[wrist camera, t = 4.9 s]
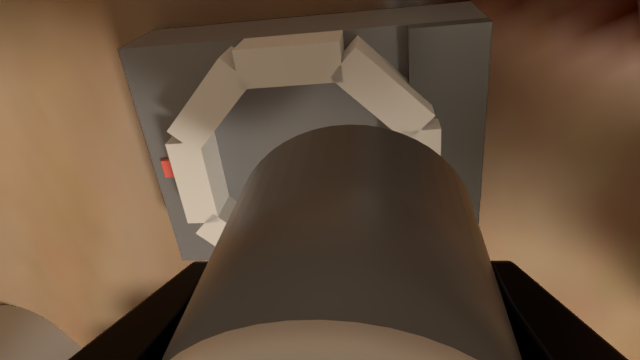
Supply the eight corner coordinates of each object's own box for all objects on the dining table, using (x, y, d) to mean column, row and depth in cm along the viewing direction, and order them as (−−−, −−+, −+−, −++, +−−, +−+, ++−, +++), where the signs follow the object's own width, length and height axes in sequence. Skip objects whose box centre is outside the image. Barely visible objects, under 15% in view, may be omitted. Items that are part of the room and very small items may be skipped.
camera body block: (471, 0, 17) (499, 28, 13) (460, 212, 21) (480, 280, 17) (153, 29, 19) (94, 61, 15) (204, 220, 23) (169, 284, 19)
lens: (489, 118, 8) (677, 467, 3) (467, 322, 11) (551, 708, 6) (210, 126, 9) (-18, 428, 4) (249, 317, 12) (144, 660, 6)
